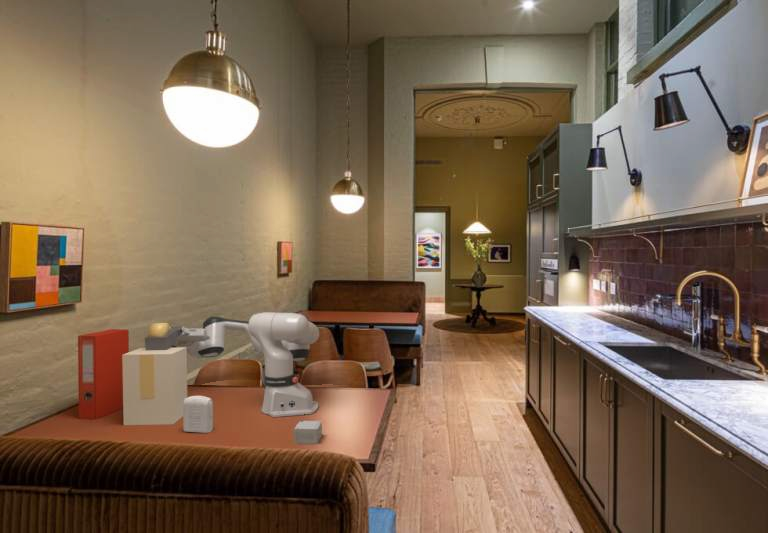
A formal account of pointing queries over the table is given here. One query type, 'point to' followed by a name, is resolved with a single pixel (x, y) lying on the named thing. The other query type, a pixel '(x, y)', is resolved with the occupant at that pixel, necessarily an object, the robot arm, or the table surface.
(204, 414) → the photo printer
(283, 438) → the table surface
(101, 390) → the file binder
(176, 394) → the carton
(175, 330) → the gold knob on base
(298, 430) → the small box
